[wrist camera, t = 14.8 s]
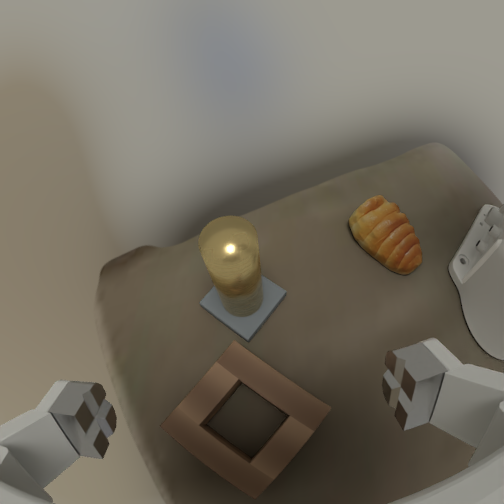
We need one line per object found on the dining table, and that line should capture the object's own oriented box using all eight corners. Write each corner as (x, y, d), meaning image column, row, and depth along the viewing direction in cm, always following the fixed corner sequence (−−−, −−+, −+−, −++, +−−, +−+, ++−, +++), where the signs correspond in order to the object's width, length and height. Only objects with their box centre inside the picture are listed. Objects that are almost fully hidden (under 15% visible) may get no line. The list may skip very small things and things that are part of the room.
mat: (239, 263, 32) (238, 259, 31) (286, 295, 30) (286, 291, 29) (201, 306, 30) (199, 302, 29) (248, 342, 28) (247, 339, 27)
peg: (239, 271, 30) (225, 207, 22) (271, 293, 29) (269, 233, 20) (213, 300, 29) (186, 245, 20) (245, 325, 27) (230, 276, 19)
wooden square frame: (237, 347, 27) (234, 339, 25) (325, 408, 24) (331, 407, 21) (170, 425, 24) (159, 425, 21) (256, 491, 20) (255, 499, 18)
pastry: (428, 259, 31) (442, 241, 28) (392, 289, 30) (405, 274, 26) (378, 204, 35) (386, 183, 32) (339, 227, 34) (345, 207, 31)
